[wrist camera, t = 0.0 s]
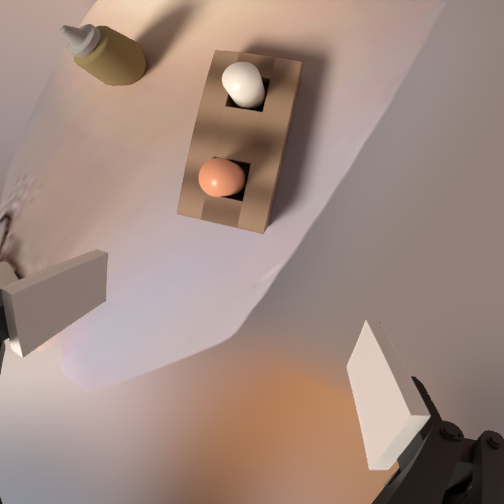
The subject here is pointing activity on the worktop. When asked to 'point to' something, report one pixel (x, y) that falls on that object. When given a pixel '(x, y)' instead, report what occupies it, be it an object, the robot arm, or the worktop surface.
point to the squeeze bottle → (105, 54)
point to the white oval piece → (244, 84)
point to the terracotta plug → (221, 177)
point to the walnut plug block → (241, 141)
